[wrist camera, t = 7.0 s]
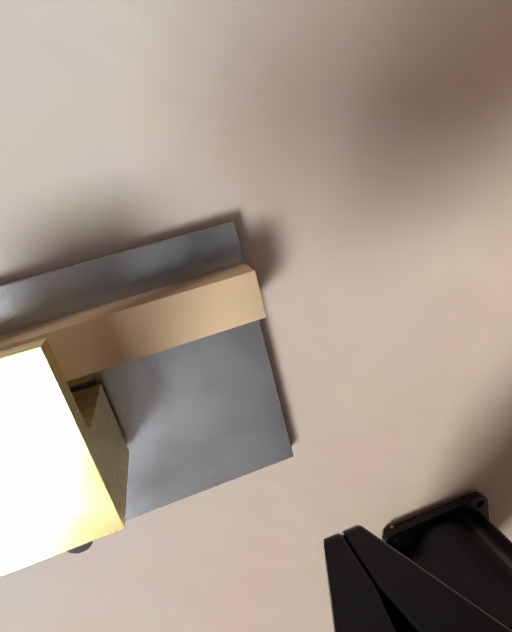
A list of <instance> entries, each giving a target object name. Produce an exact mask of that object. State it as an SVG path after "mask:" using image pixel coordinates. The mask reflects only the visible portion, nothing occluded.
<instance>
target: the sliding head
mask: <svg viewBox="0 0 512 632" xmlns="http://www.w3.org/2000/svg"><path fill="white" fill-rule="evenodd" d="M128 463H129V450H128V447H127V445H126V442H125V440H124V438H123V435H122V433H121V431H120V428H119V426H118V424H117V421H116V419H115V416H114V414H113V412H112V409H111V407H110V405H109V402H108V400H107V397H106V395H105V393H104V390H103V388H102V386H101V384H98V385H95V386H92V387H89V388H86V389H83V390H80V391H76V392H73V393H71V391H70V389H69V386H68V384H67V382H66V380H65V378H64V375H63V373H62V371H61V369H60V367H59V364H58V362H57V360H56V358H55V356H54V353H53V351H52V349H51V347H50V345H49V342H48V340H47V338H44V339H41V340H38V341H35V342H31V343H28V344H25V345H21V346H18V347H15V348H11V349H8V350H5V351H1V352H0V576H3V575H5V574H8V573H10V572H13V571H16V570H18V569H21V568H23V567H26V566H29V565H31V564H34V563H36V562H39V561H41V560H44V559H47V558H49V557H52V556H54V555H57V554H60V553H62V552H65V551H67V552H70V553H80V552H83V551H85V550H87V549H88V548H89V547H90V546H91V544H92V542H93V540H96V539H98V538H101V537H104V536H106V535H109V534H111V533H114V532H117V531H119V530H122V529H124V528H125V513H126V496H127V480H128Z"/></svg>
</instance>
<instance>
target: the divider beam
mask: <svg viewBox="0 0 512 632" xmlns="http://www.w3.org/2000/svg"><path fill="white" fill-rule="evenodd" d="M263 318H266V314H265V310H264V305H263V301H262V297H261V293H260V289H259V285H258V281H257V277H256V273H255V270H253V269H252V268H251V267H249V266H248V265H247V264H245V263H244V264H240V265H237V266H233V267H230V268H227V269H223V270H220V271H216V272H213V273H210V274H206V275H203V276H200V277H196V278H193V279H189V280H186V281H183V282H179V283H176V284H172V285H169V286H166V287H162V288H159V289H156V290H152V291H149V292H145V293H142V294H139V295H135V296H132V297H128V298H125V299H122V300H118V301H115V302H112V303H108V304H105V305H101V306H98V307H95V308H91V309H88V310H84V311H81V312H78V313H74V314H71V315H68V316H64V317H61V318H57V319H54V320H51V321H47V322H44V323H40V324H37V325H34V326H30V327H27V328H24V329H20V330H17V331H13V332H10V333H7V334H3V335H0V352H1V351H5V350H8V349H11V348H15V347H18V346H21V345H25V344H28V343H31V342H35V341H38V340H41V339H44V338H47V340H48V342H49V345H50V347H51V349H52V351H53V353H54V356H55V358H56V360H57V362H58V364H59V367H60V369H61V371H62V373H63V375H64V378H65V380H66V381H69V380H73V379H76V378H79V377H82V376H85V375H88V374H91V373H94V372H98V371H101V370H104V369H107V368H110V367H113V366H116V365H119V364H122V363H126V362H129V361H132V360H135V359H138V358H141V357H144V356H147V355H151V354H154V353H157V352H160V351H163V350H166V349H169V348H172V347H175V346H179V345H182V344H185V343H188V342H191V341H194V340H197V339H200V338H204V337H207V336H210V335H213V334H216V333H219V332H222V331H225V330H228V329H232V328H235V327H238V326H241V325H244V324H247V323H250V322H253V321H256V320H260V319H263Z"/></svg>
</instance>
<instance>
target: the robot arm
mask: <svg viewBox="0 0 512 632" xmlns="http://www.w3.org/2000/svg"><path fill="white" fill-rule="evenodd" d="M323 547H324V555H325V563H326V571H327V578H328V586H329V594H330V602H331V609H332V617H333V625H334V632H512V542H511V541H510V540H509V539H508V538H507V537H506V536H505V535H504V534H503V533H502V532H501V531H500V530H499V529H498V528H496V527H495V526H494V525H493V524H492V523H491V522H490V521H489V516H488V500H487V498H486V497H485V496H484V495H483V494H482V493H480V492H474V493H472V494H470V495H467V496H465V497H463V498H460V499H458V500H456V501H453V502H451V503H449V504H447V505H444V506H442V507H440V508H437V509H435V510H433V511H430V512H428V513H426V514H423V515H421V516H419V517H416V518H414V519H412V520H409V521H407V522H405V523H403V524H400V525H398V526H396V527H393V528H391V529H389V530H387V531H386V532H385V533H384V534H383V536H382V540H381V539H380V538H378V537H377V536H375V535H374V534H372V533H371V532H369V531H368V530H367V529H365V528H364V527H362V526H360V525H356V526H354V527H351V528H349V529H347V530H344V531H343V532H342V535H341V534H340V533H337V534H335V535H332V536H330V537H328V538H325V539H324V540H323Z"/></svg>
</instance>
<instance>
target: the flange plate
mask: <svg viewBox="0 0 512 632" xmlns="http://www.w3.org/2000/svg"><path fill="white" fill-rule="evenodd" d="M244 263H245V262H244V258H243V254H242V250H241V246H240V242H239V238H238V234H237V231H236V227H235V223H234V222H232V221H230V222H226V223H223V224H219V225H216V226H212V227H208V228H205V229H201V230H197V231H194V232H190V233H187V234H183V235H179V236H176V237H172V238H169V239H165V240H161V241H158V242H154V243H150V244H147V245H143V246H140V247H136V248H132V249H129V250H125V251H122V252H118V253H114V254H111V255H107V256H103V257H100V258H96V259H93V260H89V261H85V262H82V263H78V264H75V265H71V266H67V267H64V268H60V269H56V270H53V271H49V272H46V273H42V274H38V275H35V276H31V277H28V278H24V279H20V280H17V281H13V282H9V283H6V284H2V285H0V335H3V334H7V333H10V332H13V331H17V330H20V329H24V328H27V327H30V326H34V325H37V324H40V323H44V322H47V321H51V320H54V319H57V318H61V317H64V316H68V315H71V314H74V313H78V312H81V311H84V310H88V309H91V308H95V307H98V306H101V305H105V304H108V303H112V302H115V301H118V300H122V299H125V298H128V297H132V296H135V295H139V294H142V293H145V292H149V291H152V290H156V289H159V288H162V287H166V286H169V285H172V284H176V283H179V282H183V281H186V280H189V279H193V278H196V277H200V276H203V275H206V274H210V273H213V272H216V271H220V270H223V269H227V268H230V267H233V266H237V265H240V264H244ZM66 382H67V384H68V386H69V389H70V391H71V393H73V392H76V391H80V390H83V389H86V388H89V387H92V386H95V385H98V384H101V386H102V388H103V390H104V393H105V395H106V397H107V400H108V402H109V405H110V407H111V409H112V412H113V414H114V416H115V419H116V421H117V424H118V426H119V428H120V431H121V433H122V435H123V438H124V440H125V442H126V445H127V447H128V450H129V463H128V480H127V496H126V513H125V521H126V520H129V519H131V518H134V517H136V516H139V515H142V514H144V513H147V512H149V511H152V510H155V509H157V508H160V507H163V506H165V505H168V504H170V503H173V502H176V501H178V500H181V499H183V498H186V497H189V496H191V495H194V494H196V493H199V492H202V491H204V490H207V489H209V488H212V487H215V486H217V485H220V484H223V483H225V482H228V481H230V480H233V479H236V478H238V477H241V476H243V475H246V474H249V473H251V472H254V471H256V470H259V469H262V468H264V467H267V466H270V465H272V464H275V463H277V462H280V461H283V460H285V459H288V458H290V457H293V452H292V448H291V444H290V440H289V436H288V432H287V428H286V424H285V420H284V417H283V413H282V409H281V405H280V401H279V397H278V393H277V389H276V385H275V381H274V377H273V373H272V369H271V365H270V361H269V357H268V353H267V349H266V345H265V341H264V337H263V333H262V329H261V325H260V322H259V320H256V321H253V322H250V323H247V324H244V325H241V326H238V327H235V328H232V329H228V330H225V331H222V332H219V333H216V334H213V335H210V336H207V337H204V338H200V339H197V340H194V341H191V342H188V343H185V344H182V345H179V346H175V347H172V348H169V349H166V350H163V351H160V352H157V353H154V354H151V355H147V356H144V357H141V358H138V359H135V360H132V361H129V362H126V363H122V364H119V365H116V366H113V367H110V368H107V369H104V370H101V371H98V372H94V373H91V374H88V375H85V376H82V377H79V378H76V379H73V380H69V381H66Z"/></svg>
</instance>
